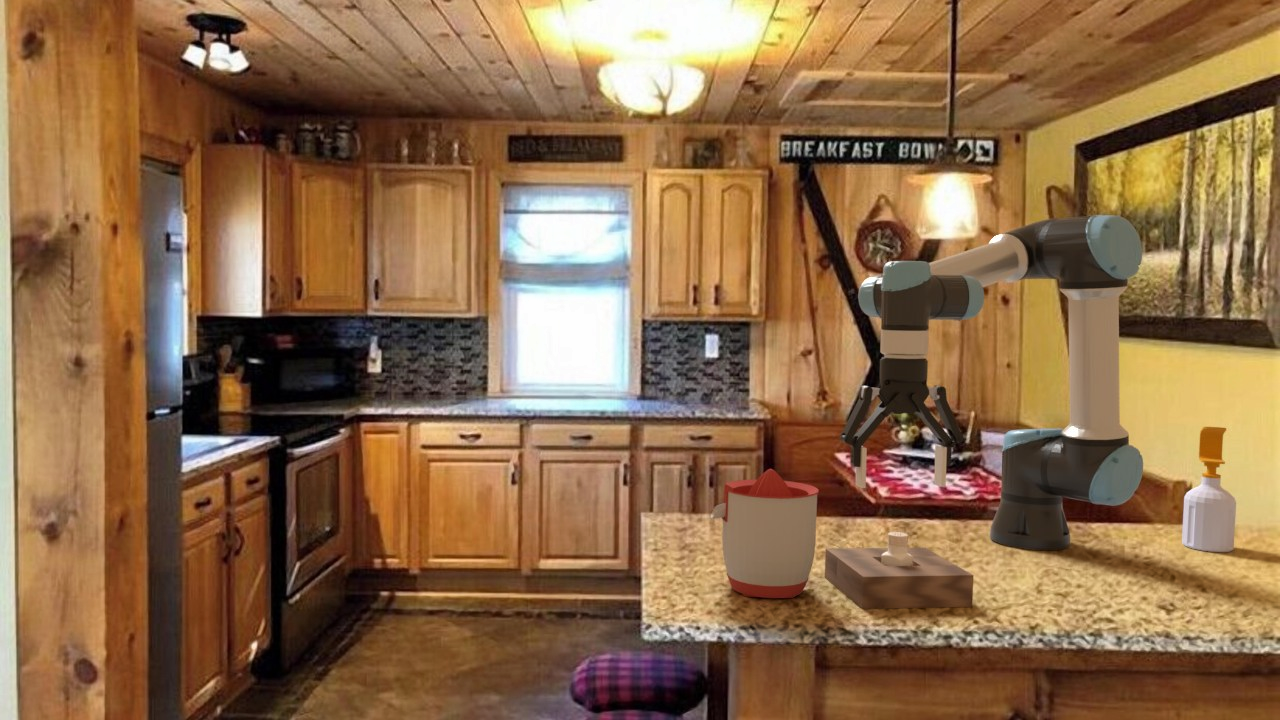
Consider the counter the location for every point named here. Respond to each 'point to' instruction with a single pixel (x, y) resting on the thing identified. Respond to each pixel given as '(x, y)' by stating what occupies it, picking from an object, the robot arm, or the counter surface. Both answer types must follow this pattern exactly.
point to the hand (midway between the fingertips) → (900, 486)
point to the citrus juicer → (768, 535)
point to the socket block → (898, 579)
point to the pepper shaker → (897, 551)
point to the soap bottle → (1209, 501)
